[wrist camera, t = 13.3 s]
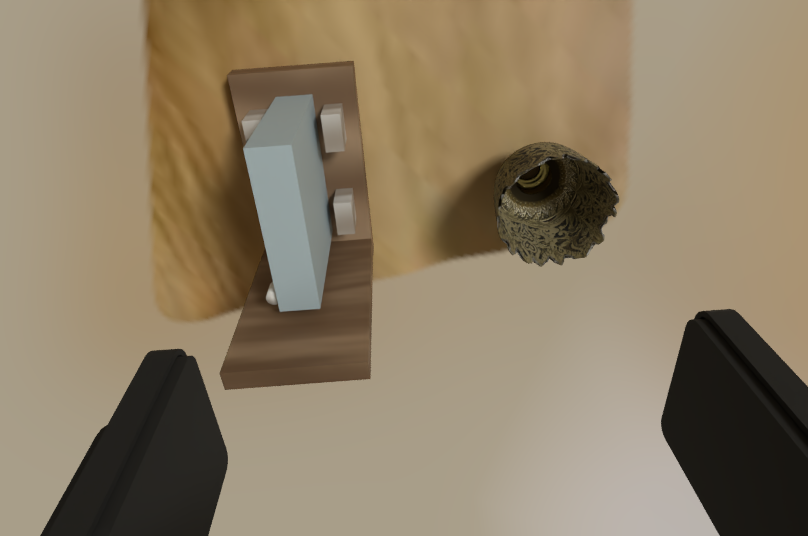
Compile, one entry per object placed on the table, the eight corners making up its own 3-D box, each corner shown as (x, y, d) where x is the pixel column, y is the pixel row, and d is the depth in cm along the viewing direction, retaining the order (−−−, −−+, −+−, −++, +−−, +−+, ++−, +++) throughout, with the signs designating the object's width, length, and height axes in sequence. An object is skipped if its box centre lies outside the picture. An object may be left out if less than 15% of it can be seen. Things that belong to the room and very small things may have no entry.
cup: (549, 226, 43) (580, 280, 36) (462, 198, 42) (479, 250, 35) (597, 138, 40) (642, 181, 33) (504, 104, 38) (532, 141, 31)
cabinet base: (232, 70, 36) (147, 148, 23) (353, 61, 36) (338, 134, 23) (272, 253, 43) (226, 393, 30) (373, 246, 43) (370, 382, 30)
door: (263, 97, 36) (226, 149, 27) (312, 94, 36) (291, 144, 27) (289, 233, 41) (266, 312, 32) (332, 230, 41) (320, 308, 32)
